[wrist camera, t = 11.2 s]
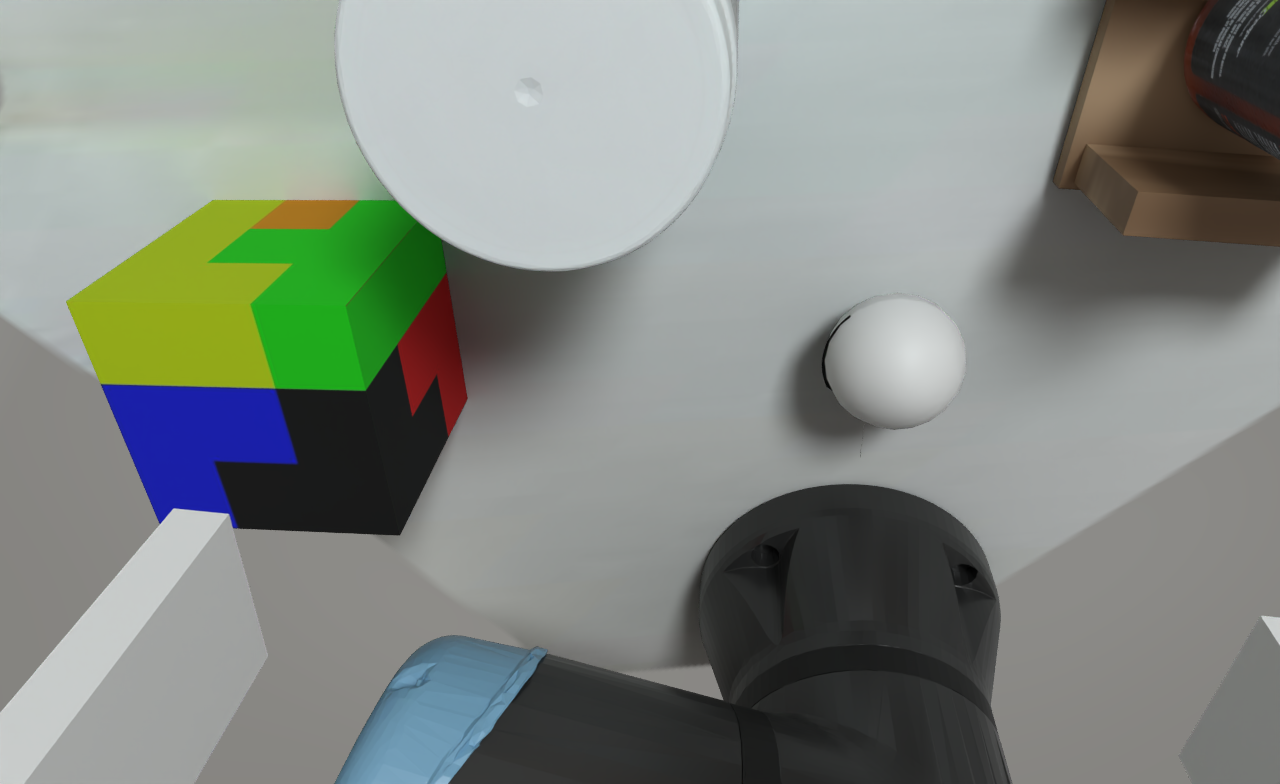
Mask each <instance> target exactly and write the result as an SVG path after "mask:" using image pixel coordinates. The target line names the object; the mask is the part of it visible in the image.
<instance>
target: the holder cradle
mask: <svg viewBox="0 0 1280 784" xmlns="http://www.w3.org/2000/svg"><path fill="white" fill-rule="evenodd" d="M1207 1H1208V0H1106V3H1105V7H1104V10H1103V13H1102V17H1101V20H1100V24H1099V27H1098V30H1097V34H1096V37H1095V40H1094V44H1093V47H1092V51H1091V54H1090V57H1089V61H1088V64H1087V67H1086V71H1085V74H1084V78H1083V81H1082V84H1081V88H1080V91H1079V94H1078V98H1077V101H1076V105H1075V108H1074V111H1073V115H1072V118H1071V121H1070V125H1069V128H1068V132H1067V135H1066V138H1065V142H1064V145H1063V148H1062V152H1061V155H1060V159H1059V162H1058V165H1057V169H1056V172H1055V175H1054V179H1053V182H1054V183H1055V185H1056V186H1057V187H1058V188H1061V189H1075V190H1081V191H1082V192H1083V193H1084V194H1085V195H1086V196H1087V197H1088V198H1089V199H1090V201H1091V202H1092V203H1093V204H1094V205H1095V206H1096V207H1097V208H1098V209H1099V210H1100V211H1101V212H1102V213H1103V215H1104V216H1105V217H1106V218H1107V219H1108V220H1109V221H1110V222H1111V223H1112V224H1113V225H1114V226H1115V227H1116V228H1117V230H1118V231H1119V232H1120V233H1121V234H1122V235H1125V236H1139V237H1153V238H1167V239H1180V240H1194V241H1208V242H1222V243H1236V244H1250V245H1264V246H1278V247H1280V160H1279V159H1277V158H1275V157H1274V156H1272V155H1270V154H1268V153H1267V152H1265V151H1263V150H1261V149H1260V148H1258V147H1256V146H1254V145H1253V144H1251V143H1249V142H1248V141H1247V140H1244V139H1243V138H1241V137H1239V136H1238V135H1236V134H1234V133H1232V132H1231V131H1229V130H1227V129H1226V128H1224V127H1222V126H1220V125H1219V124H1217V123H1216V122H1215V121H1213V120H1212V119H1211V118H1209V117H1208V116H1207V115H1205V114H1204V113H1203V112H1202V111H1201V110H1200V109H1199V108H1198V106H1197V105H1196V104H1195V103H1194V101H1193V100H1192V98H1191V96H1190V94H1189V92H1188V89H1187V86H1186V81H1185V76H1184V54H1185V48H1186V44H1187V40H1188V36H1189V34H1190V31H1191V29H1192V27H1193V25H1194V23H1195V20H1196V19H1197V17H1198V15H1199V13H1200V12H1201V10H1202V9H1203V7H1204V6H1205V4H1206V3H1207Z"/></svg>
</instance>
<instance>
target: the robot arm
mask: <svg viewBox="0 0 1280 784" xmlns="http://www.w3.org/2000/svg"><path fill="white" fill-rule="evenodd" d="M1000 621H1001V614H1000V603H999V597H998V593H997V589H996V586H995V583H994V580H993V576H992V573H991V570H990V567H989V564H988V561H987V559H986V556H985V554H984V552H983V550H982V548H981V546H980V545H979V543H978V542H977V540H976V539H975V538H974V536H973V535H972V534H971V533H970V531H969V530H968V529H967V528H966V527H965V526H964V525H963V524H962V523H961V522H959V521H958V520H957V519H956V518H955V517H953V516H952V515H951V514H949V513H948V512H946V511H945V510H943V509H942V508H940V507H938V506H936V505H934V504H933V503H931V502H928V501H926V500H924V499H922V498H919V497H917V496H914V495H911V494H908V493H905V492H902V491H898V490H894V489H889V488H884V487H878V486H870V485H857V484H841V485H828V486H819V487H813V488H808V489H803V490H799V491H795V492H792V493H789V494H786V495H783V496H780V497H777V498H775V499H773V500H770V501H768V502H766V503H764V504H762V505H760V506H758V507H756V508H755V509H753V510H751V511H750V512H748V513H747V514H745V515H744V516H742V517H741V518H740V519H738V520H737V521H736V522H735V523H734V524H732V525H731V526H730V527H729V528H728V529H727V530H726V531H725V532H724V534H723V535H722V536H721V537H720V538H719V540H718V541H717V542H716V544H715V545H714V547H713V548H712V550H711V552H710V553H709V556H708V558H707V560H706V562H705V565H704V568H703V572H702V576H701V583H700V600H699V625H700V632H701V637H702V641H703V644H704V647H705V650H706V652H707V655H708V658H709V661H710V664H711V666H712V669H713V672H714V675H715V677H716V680H717V683H718V686H719V689H720V691H721V694H722V697H723V700H724V701H723V700H719V699H715V698H711V697H708V696H704V695H700V694H696V693H693V692H689V691H685V690H682V689H678V688H674V687H670V686H667V685H663V684H659V683H655V682H651V681H648V680H644V679H640V678H636V677H633V676H629V675H625V674H621V673H618V672H614V671H610V670H606V669H603V668H599V667H595V666H591V665H588V664H584V663H580V662H576V661H573V660H569V659H565V658H561V657H558V656H554V655H550V654H546V653H547V649H543V648H539V647H538V646H537V647H534V648H532V649H530V650H528V649H523V648H518V647H514V646H509V645H504V644H499V643H494V642H490V641H484V640H480V639H475V638H471V637H466V636H457V635H452V636H444V637H440V638H437V639H434V640H432V641H430V642H428V643H426V644H424V645H423V646H421V647H420V648H419V649H418V650H416V651H415V652H414V653H413V654H412V655H411V656H410V657H409V658H408V659H407V661H406V662H405V663H404V664H403V665H402V666H401V667H400V669H399V670H398V671H397V673H396V674H395V676H394V677H393V679H392V680H391V682H390V683H389V685H388V686H387V688H386V689H385V691H384V693H383V694H382V696H381V698H380V700H379V701H378V703H377V705H376V706H375V708H374V710H373V712H372V713H371V715H370V717H369V719H368V720H367V722H366V724H365V726H364V728H363V730H362V731H361V733H360V735H359V737H358V739H357V740H356V742H355V744H354V746H353V748H352V750H351V752H350V754H349V756H348V758H347V760H346V762H345V764H344V766H343V768H342V770H341V772H340V774H339V775H338V777H337V780H336V781H335V783H334V784H1012V780H1011V777H1010V773H1009V770H1008V766H1007V763H1006V759H1005V756H1004V752H1003V749H1002V745H1001V742H1000V739H999V735H998V732H997V728H996V725H995V721H994V717H993V714H992V710H991V698H992V689H993V681H994V673H995V665H996V656H997V648H998V640H999V632H1000ZM267 657H268V653H267V649H266V646H265V642H264V638H263V635H262V631H261V628H260V624H259V620H258V617H257V613H256V610H255V606H254V602H253V599H252V595H251V591H250V588H249V584H248V581H247V577H246V573H245V570H244V566H243V563H242V559H241V555H240V552H239V548H238V545H237V541H236V537H235V534H234V530H233V527H232V523H231V519H230V516H229V514H224V513H214V512H204V511H194V510H184V509H173V510H172V511H171V512H170V513H169V514H168V516H167V517H166V518H165V519H164V520H163V521H162V523H161V524H160V525H159V526H158V527H157V529H156V530H155V531H154V532H153V533H152V535H151V536H150V537H149V538H148V539H147V540H146V542H145V543H144V544H143V545H142V546H141V548H140V549H139V550H138V551H137V552H136V553H135V554H134V556H133V557H132V558H131V559H130V560H129V562H128V563H127V564H126V565H125V566H124V567H123V569H122V570H121V571H120V572H119V573H118V575H117V576H116V577H115V578H114V579H113V581H112V582H111V583H110V584H109V585H108V587H107V588H106V589H105V590H104V591H103V592H102V593H101V595H100V596H99V597H98V598H97V599H96V601H95V602H94V603H93V604H92V605H91V606H90V608H89V609H88V610H87V611H86V612H85V613H84V615H83V616H82V617H81V618H80V619H79V621H78V622H77V623H76V624H75V625H74V627H73V628H72V629H71V630H70V631H69V633H67V635H66V636H65V637H64V638H63V639H62V641H61V642H60V643H59V644H58V645H57V646H56V648H55V649H54V650H53V651H52V652H51V654H50V655H49V656H48V657H47V658H46V659H45V661H44V662H43V663H42V664H41V665H40V666H39V668H38V669H37V670H36V671H35V673H34V674H33V675H32V676H31V677H30V678H29V680H28V681H27V682H26V683H25V684H24V685H23V687H22V688H21V689H20V690H19V691H18V693H17V694H16V695H15V696H14V697H13V698H12V699H11V701H10V702H9V703H8V704H7V705H6V707H5V708H4V709H3V710H2V711H1V712H0V784H194V783H195V781H196V779H197V778H198V776H199V774H200V773H201V771H202V769H203V767H204V766H205V764H206V762H207V760H208V759H209V757H210V755H211V754H212V752H213V750H214V749H215V747H216V745H217V743H218V742H219V740H220V738H221V736H222V735H223V733H224V731H225V730H226V728H227V726H228V724H229V722H230V721H231V719H232V718H233V716H234V714H235V712H236V711H237V709H238V707H239V705H240V704H241V702H242V700H243V699H244V697H245V695H246V693H247V692H248V690H249V688H250V687H251V685H252V683H253V681H254V680H255V678H256V676H257V674H258V673H259V671H260V669H261V668H262V666H263V664H264V663H265V661H266V659H267ZM1179 758H1180V760H1181V762H1182V764H1183V766H1184V768H1185V770H1186V773H1187V775H1188V777H1189V779H1190V781H1191V783H1192V784H1280V618H1277V617H1268V616H1260V617H1259V619H1258V621H1257V623H1256V624H1255V626H1254V628H1253V629H1252V631H1251V633H1250V635H1249V636H1248V638H1247V640H1246V641H1245V643H1244V645H1243V647H1242V648H1241V650H1240V652H1239V653H1238V655H1237V657H1236V658H1235V660H1234V662H1233V664H1232V665H1231V667H1230V669H1229V671H1228V672H1227V674H1226V676H1225V677H1224V679H1223V681H1222V682H1221V684H1220V686H1219V687H1218V689H1217V691H1216V693H1215V694H1214V696H1213V698H1212V699H1211V701H1210V703H1209V704H1208V706H1207V708H1206V710H1205V711H1204V713H1203V715H1202V716H1201V718H1200V720H1199V722H1198V723H1197V725H1196V727H1195V728H1194V730H1193V732H1192V734H1191V735H1190V737H1189V739H1188V740H1187V742H1186V744H1185V745H1184V747H1183V749H1182V751H1181V752H1180V754H1179Z"/></svg>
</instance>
